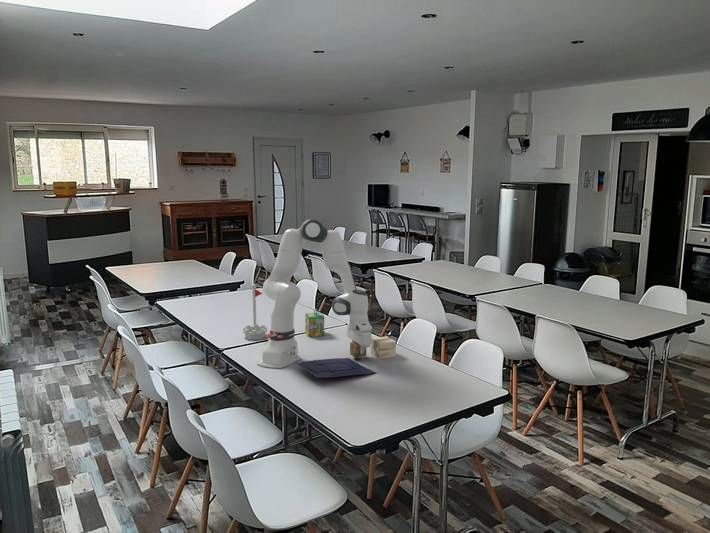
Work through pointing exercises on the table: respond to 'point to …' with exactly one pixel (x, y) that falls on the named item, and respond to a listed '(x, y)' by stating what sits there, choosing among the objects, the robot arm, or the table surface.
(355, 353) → the walnut cube
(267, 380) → the table surface
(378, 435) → the table surface
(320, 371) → the folded navy cloth
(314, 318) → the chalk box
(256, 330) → the flag stand
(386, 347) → the beech block
